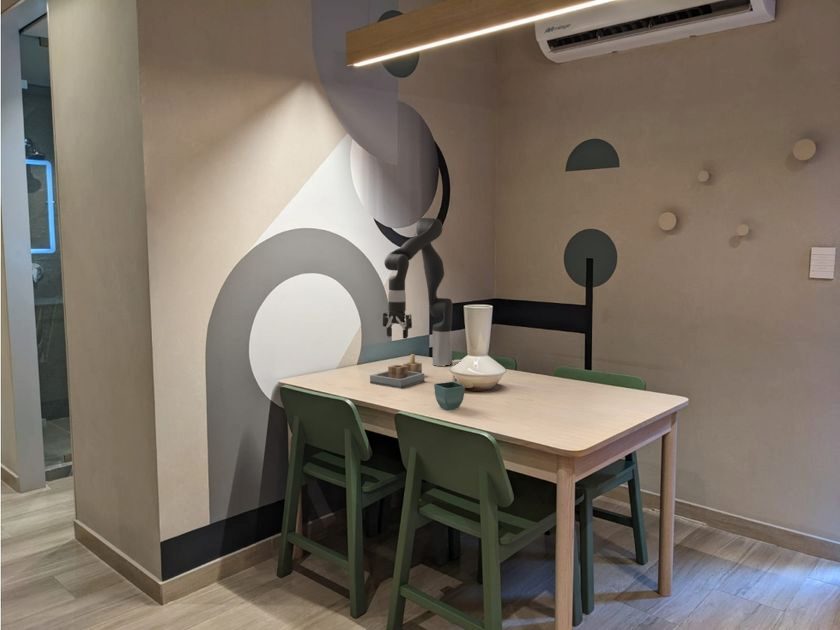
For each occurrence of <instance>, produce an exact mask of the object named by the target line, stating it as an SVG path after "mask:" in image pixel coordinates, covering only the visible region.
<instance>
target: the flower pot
mask: <svg viewBox="0 0 840 630" xmlns="http://www.w3.org/2000/svg"><path fill="white" fill-rule="evenodd" d="M433 388H434V396H435V400H436V402H437V404H438V406H439V407H440V408H442V409H444V410H446V411H450V410H451V411H452V410H457V409H456V408H458V409H459V408H460V406H461V405H462V403H463V402H464V401H463V400H464V397H465V391H466V389H465V386H464V385H461V384H458V383H456V382H453V381H448V382H439V383H433Z"/></svg>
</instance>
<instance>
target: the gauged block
mask: <svg viewBox="0 0 840 630" xmlns="http://www.w3.org/2000/svg"><path fill="white" fill-rule="evenodd" d="M409 356H410V359H409V360H410V361H408V362H403V363H402V365H403V366H408V371H411V372H418V373H423V369H422V366H423V363H422V362H418V361H417V362H416V361H415V360H416V354H414V353H413V354H410V355H409Z"/></svg>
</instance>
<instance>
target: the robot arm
mask: <svg viewBox="0 0 840 630" xmlns="http://www.w3.org/2000/svg"><path fill="white" fill-rule="evenodd" d="M442 233H443V222H442V221H441V220H440V219H438V218H433V217H420V218H419V219H418V220H417V221H416V236H413V237H411V238H409V239H408V240H406V241H405V242H404V243H403V244H402V245H401V246H400V247H399V248H396V249H394V250H393V251H391V252H390V253H388V254H387V255H386V257H385V259H384V267H385V268H386V269H387V270H389V271H397V272H396V275H392V276H390V277H389V278H388V298H387V299H388V301H387V304H388V307H387V309H388V312H383V314H382V327H385V328H386V336H387V337H388V338H390V337H392V336H393V333H392V329H393V328H392V326H393V325H395V324H397V325H399V326H401V327H402V329H403V330H402V339H408V337H409V330H410V329H412V328H413V322H412V314H411V313H410V314H406V310H407V308H406V299H407V298H406V297H407V296H406V295H407V294H406V278H407V274H408V270H409V266H410V261H411V260H412V259H413V258H415V256H416V254H418V253H419V251H421V257H422V262H423V270H424V274H425V280H426V286H427V294H428V296H427V297H428V307H429V309H428V310H429V313H430V315H431V316H432V317H438V318H443V319H442V321H440V322H437V323H435V324H433V325H432V365H433V366H434V365H436V366H435V367H444V366H443V365H449V364H451V363H452V364H453V345H452V325H453V324H452V323H453V306H454V305H453V301H452V298H446V297H445V298H443V297H438V296H437V291H438V289H439V287H440V285H441V283H442V281H443V280H444V276H445V269H444V268H445V267H444V262H443V260H442V259H443V258H442V257H441V256H440V255H439V253H438V252H437V251H436V250H435V248H434V247H433V244H432V242H433V241H435V240H437V239H438V238H440V236H441V235H442ZM452 364H451V365H452Z"/></svg>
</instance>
